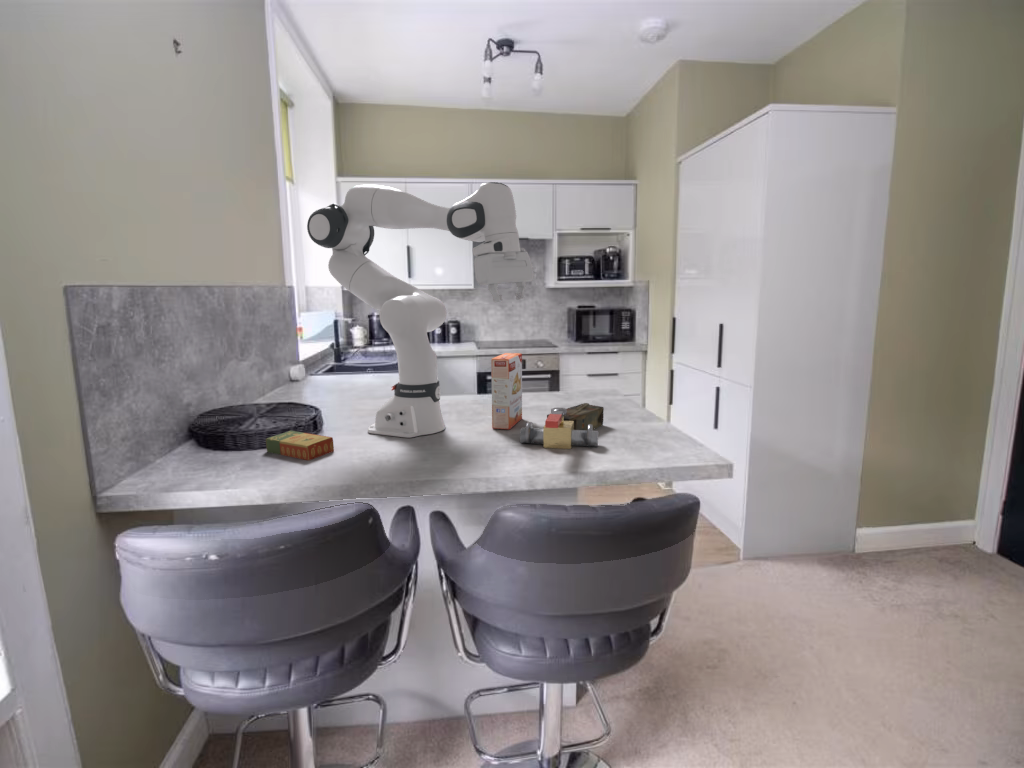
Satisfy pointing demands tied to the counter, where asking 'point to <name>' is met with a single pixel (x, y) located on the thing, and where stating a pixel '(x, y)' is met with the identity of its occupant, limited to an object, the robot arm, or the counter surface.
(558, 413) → the lever
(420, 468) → the counter surface
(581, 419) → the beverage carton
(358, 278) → the robot arm
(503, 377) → the cracker box
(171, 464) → the counter surface
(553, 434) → the valve body
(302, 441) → the carton
